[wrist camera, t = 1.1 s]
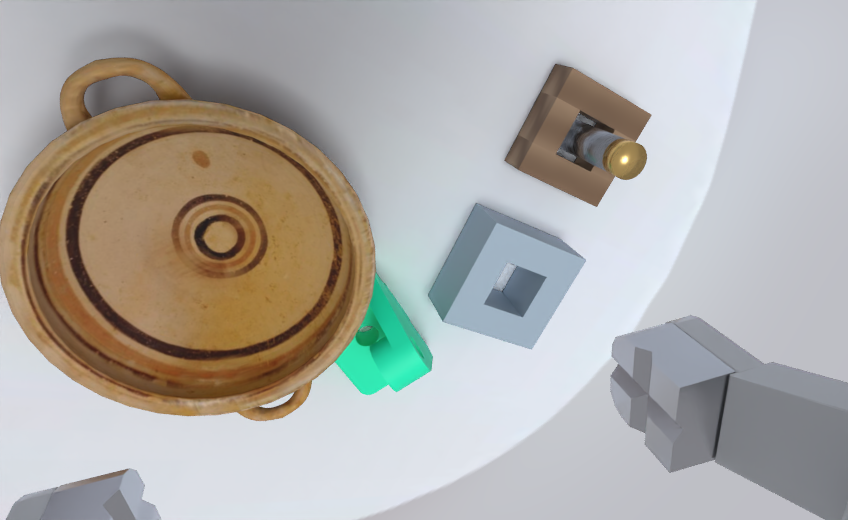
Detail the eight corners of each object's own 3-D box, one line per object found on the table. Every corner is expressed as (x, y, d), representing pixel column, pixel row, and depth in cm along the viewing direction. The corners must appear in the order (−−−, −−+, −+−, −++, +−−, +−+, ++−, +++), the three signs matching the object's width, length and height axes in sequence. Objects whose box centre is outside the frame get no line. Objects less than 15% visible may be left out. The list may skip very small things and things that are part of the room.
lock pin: (564, 113, 48) (626, 137, 40) (588, 126, 49) (653, 151, 41) (548, 142, 49) (606, 171, 41) (572, 154, 50) (633, 185, 42)
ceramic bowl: (400, 325, 53) (421, 375, 46) (155, 417, 50) (137, 484, 43) (289, 1, 39) (294, 1, 32) (-60, 104, 36) (-137, 129, 29)
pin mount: (555, 64, 46) (573, 67, 43) (631, 108, 49) (651, 114, 47) (504, 160, 48) (518, 169, 46) (580, 196, 52) (596, 206, 49)
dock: (476, 203, 50) (496, 222, 45) (560, 238, 53) (586, 260, 49) (428, 294, 52) (442, 321, 48) (511, 322, 56) (531, 349, 52)
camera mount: (292, 298, 49) (298, 365, 40) (364, 253, 49) (386, 310, 40) (361, 381, 55) (380, 456, 46) (425, 342, 55) (457, 409, 46)
